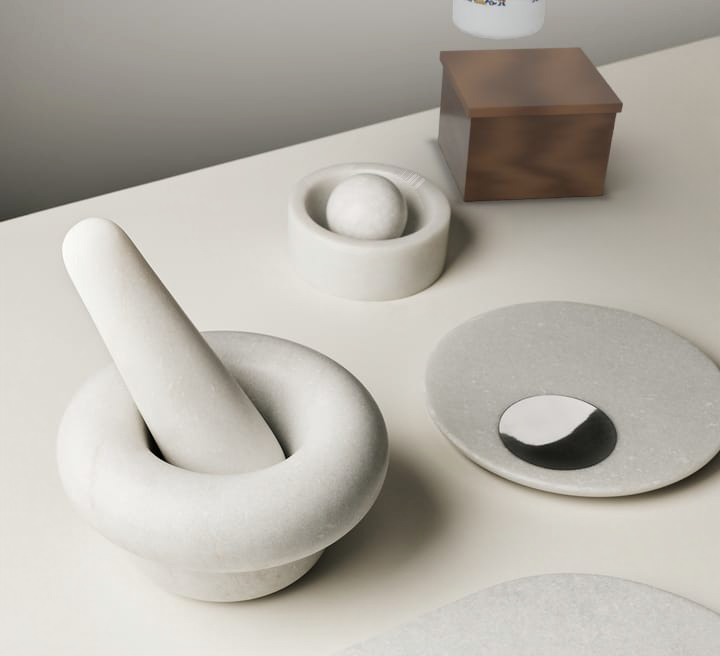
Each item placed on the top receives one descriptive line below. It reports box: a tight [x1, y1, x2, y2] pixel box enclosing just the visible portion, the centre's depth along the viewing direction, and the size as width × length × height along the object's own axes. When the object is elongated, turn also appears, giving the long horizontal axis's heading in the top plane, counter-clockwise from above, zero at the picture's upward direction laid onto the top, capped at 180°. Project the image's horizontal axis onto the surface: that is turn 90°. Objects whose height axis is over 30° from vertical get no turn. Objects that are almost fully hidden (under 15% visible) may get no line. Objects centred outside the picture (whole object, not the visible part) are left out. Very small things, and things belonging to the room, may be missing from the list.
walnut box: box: [437, 46, 624, 202], centre depth 98 cm, size 13×13×8 cm
